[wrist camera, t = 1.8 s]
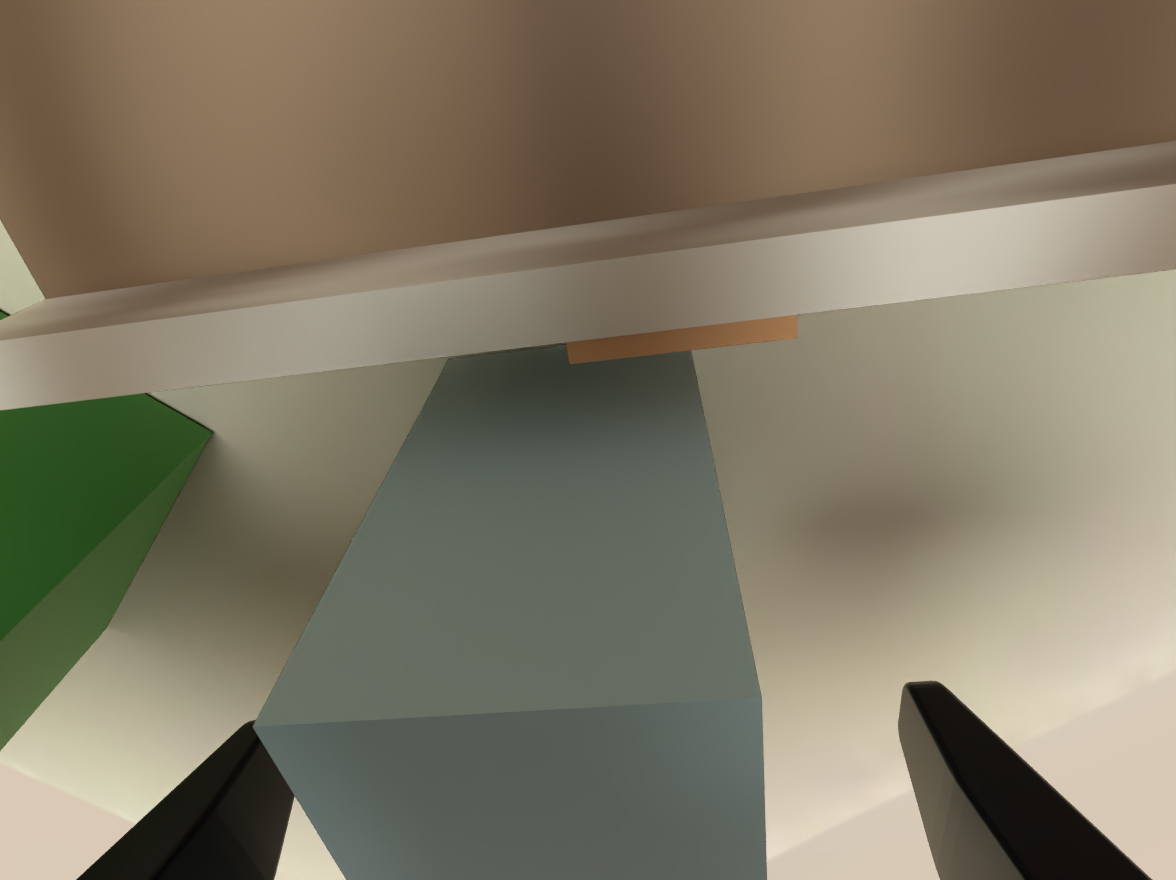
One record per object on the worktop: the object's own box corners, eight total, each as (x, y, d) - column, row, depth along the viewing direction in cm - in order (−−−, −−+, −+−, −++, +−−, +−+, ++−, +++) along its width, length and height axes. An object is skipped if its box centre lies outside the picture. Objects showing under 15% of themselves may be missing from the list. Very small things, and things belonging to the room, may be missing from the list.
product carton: (687, 330, 12) (761, 697, 6) (706, 577, 16) (770, 1010, 9) (443, 359, 13) (242, 727, 6) (508, 592, 16) (421, 1013, 9)
